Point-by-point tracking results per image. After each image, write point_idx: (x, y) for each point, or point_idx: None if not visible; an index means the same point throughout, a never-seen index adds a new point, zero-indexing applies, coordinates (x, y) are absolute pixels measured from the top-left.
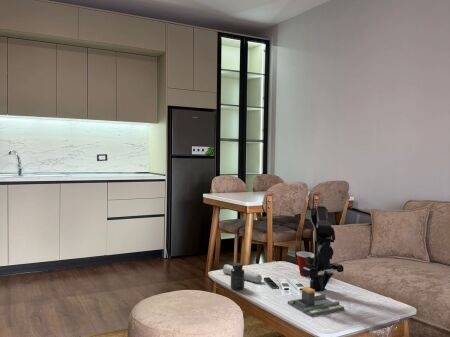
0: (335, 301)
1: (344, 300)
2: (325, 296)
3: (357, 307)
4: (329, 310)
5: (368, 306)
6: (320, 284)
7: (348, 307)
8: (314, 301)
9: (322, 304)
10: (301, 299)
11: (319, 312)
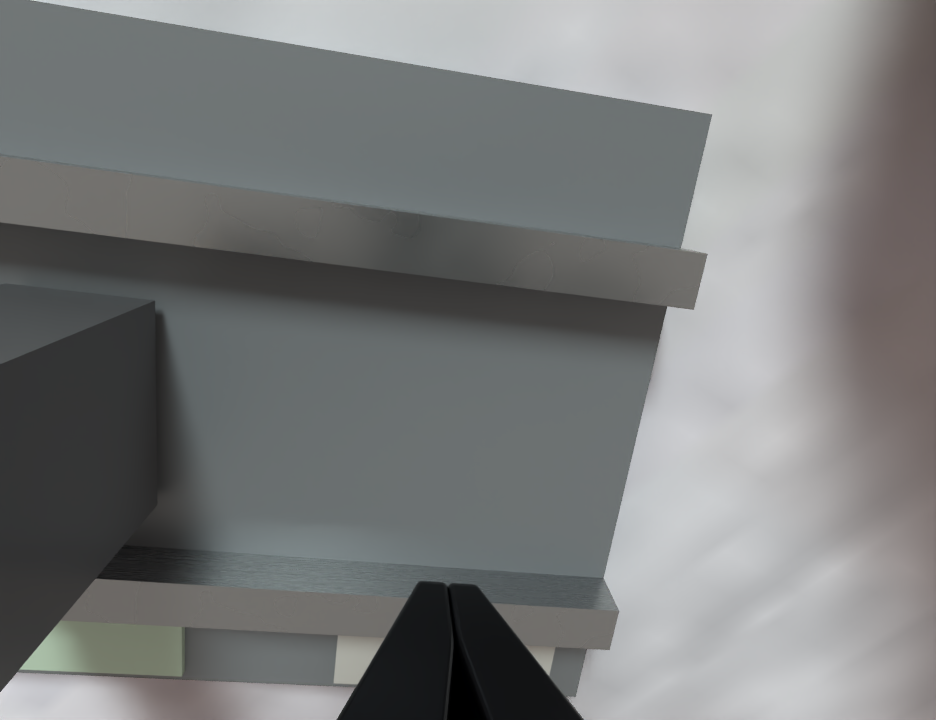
0: (567, 612)
1: (900, 431)
2: (679, 306)
3: (781, 679)
4: (296, 677)
5: (914, 712)
6: (369, 686)
7: (690, 632)
8: (110, 556)
9: (256, 608)
10: (30, 211)
11: (96, 669)
